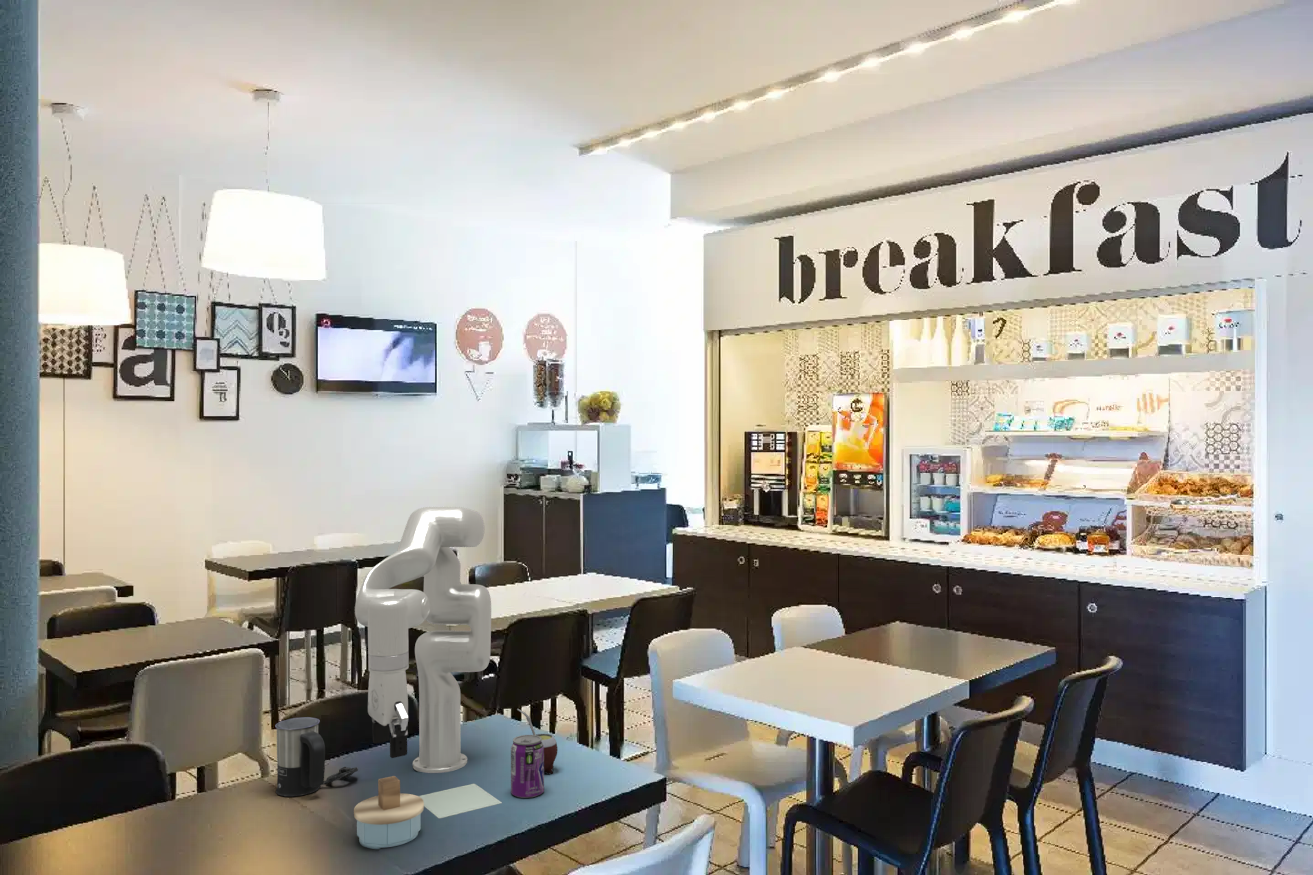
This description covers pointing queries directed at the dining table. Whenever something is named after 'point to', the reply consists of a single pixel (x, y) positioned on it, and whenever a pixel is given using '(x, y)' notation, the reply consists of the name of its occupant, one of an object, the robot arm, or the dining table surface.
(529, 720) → the mate gourd
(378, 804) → the lid
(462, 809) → the mat
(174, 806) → the dining table surface
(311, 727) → the milk frother
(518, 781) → the beverage can
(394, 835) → the bowl
